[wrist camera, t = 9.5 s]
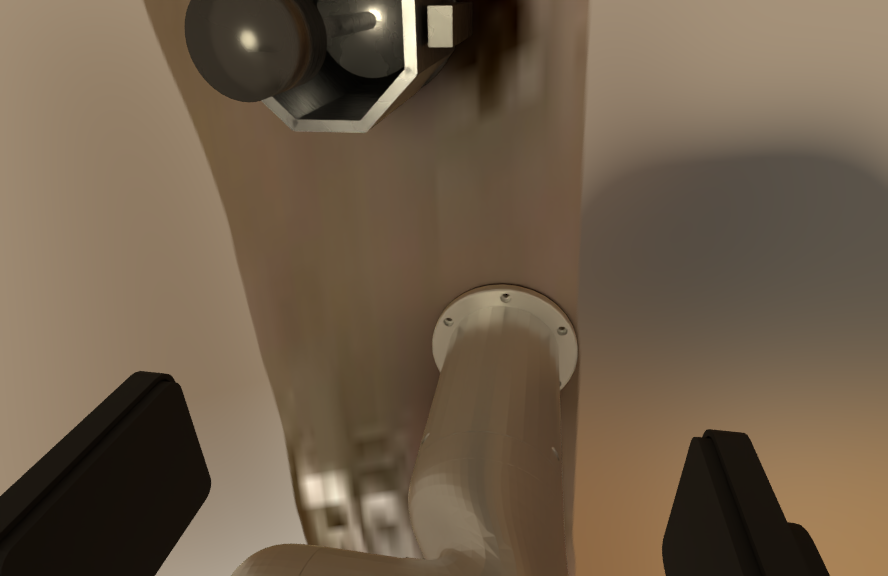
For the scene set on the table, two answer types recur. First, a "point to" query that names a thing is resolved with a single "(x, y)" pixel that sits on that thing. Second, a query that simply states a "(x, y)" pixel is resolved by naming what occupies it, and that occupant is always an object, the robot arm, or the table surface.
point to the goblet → (290, 42)
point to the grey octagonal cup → (372, 99)
